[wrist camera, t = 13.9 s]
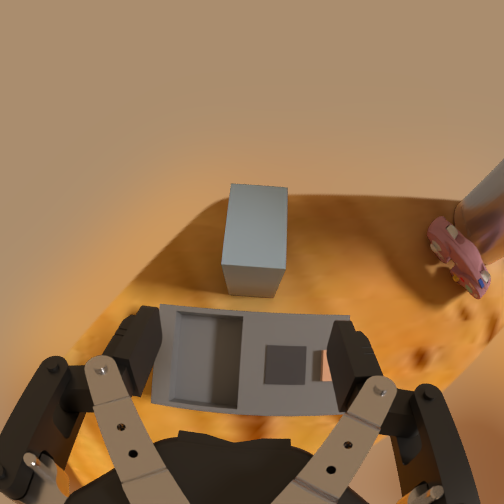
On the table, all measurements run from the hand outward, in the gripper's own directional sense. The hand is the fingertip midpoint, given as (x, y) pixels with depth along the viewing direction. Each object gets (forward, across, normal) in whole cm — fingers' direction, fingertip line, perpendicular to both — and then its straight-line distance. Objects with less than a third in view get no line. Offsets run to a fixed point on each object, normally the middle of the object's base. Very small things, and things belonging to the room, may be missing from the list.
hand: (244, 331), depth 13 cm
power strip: (+8, -1, +10) cm, 13 cm away
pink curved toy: (+15, -22, +3) cm, 27 cm away
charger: (+14, 0, +4) cm, 15 cm away
